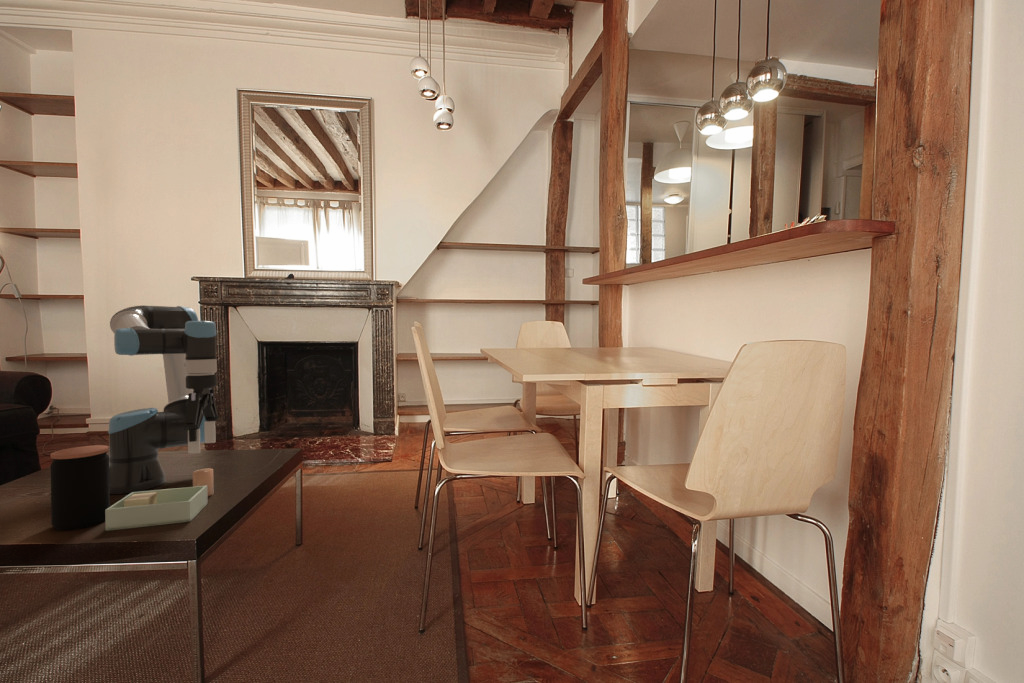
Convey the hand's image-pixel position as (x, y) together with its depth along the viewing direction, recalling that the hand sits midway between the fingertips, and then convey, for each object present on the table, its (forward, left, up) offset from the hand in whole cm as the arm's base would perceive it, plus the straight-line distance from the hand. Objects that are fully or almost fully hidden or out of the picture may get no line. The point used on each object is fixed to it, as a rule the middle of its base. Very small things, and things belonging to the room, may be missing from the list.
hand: (202, 447), depth 134 cm
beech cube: (+15, -9, -13) cm, 22 cm away
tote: (+15, -5, -14) cm, 21 cm away
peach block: (0, 0, -14) cm, 14 cm away
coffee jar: (+14, -22, -14) cm, 30 cm away
